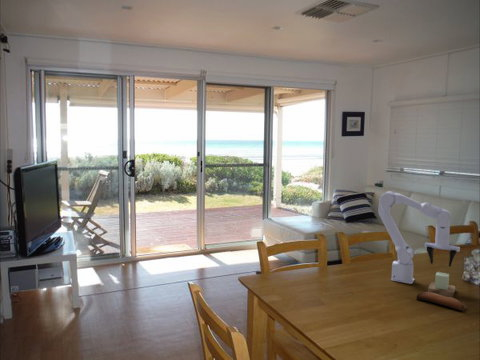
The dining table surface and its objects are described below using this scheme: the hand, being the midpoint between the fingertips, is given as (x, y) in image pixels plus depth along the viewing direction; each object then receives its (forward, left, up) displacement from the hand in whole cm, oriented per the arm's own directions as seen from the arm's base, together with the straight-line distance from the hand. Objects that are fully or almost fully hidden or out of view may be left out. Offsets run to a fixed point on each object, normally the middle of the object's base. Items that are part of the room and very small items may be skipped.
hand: (440, 264), depth 191 cm
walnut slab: (+2, -7, -10) cm, 13 cm away
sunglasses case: (+3, -22, -11) cm, 25 cm away
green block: (+2, -7, -8) cm, 11 cm away
